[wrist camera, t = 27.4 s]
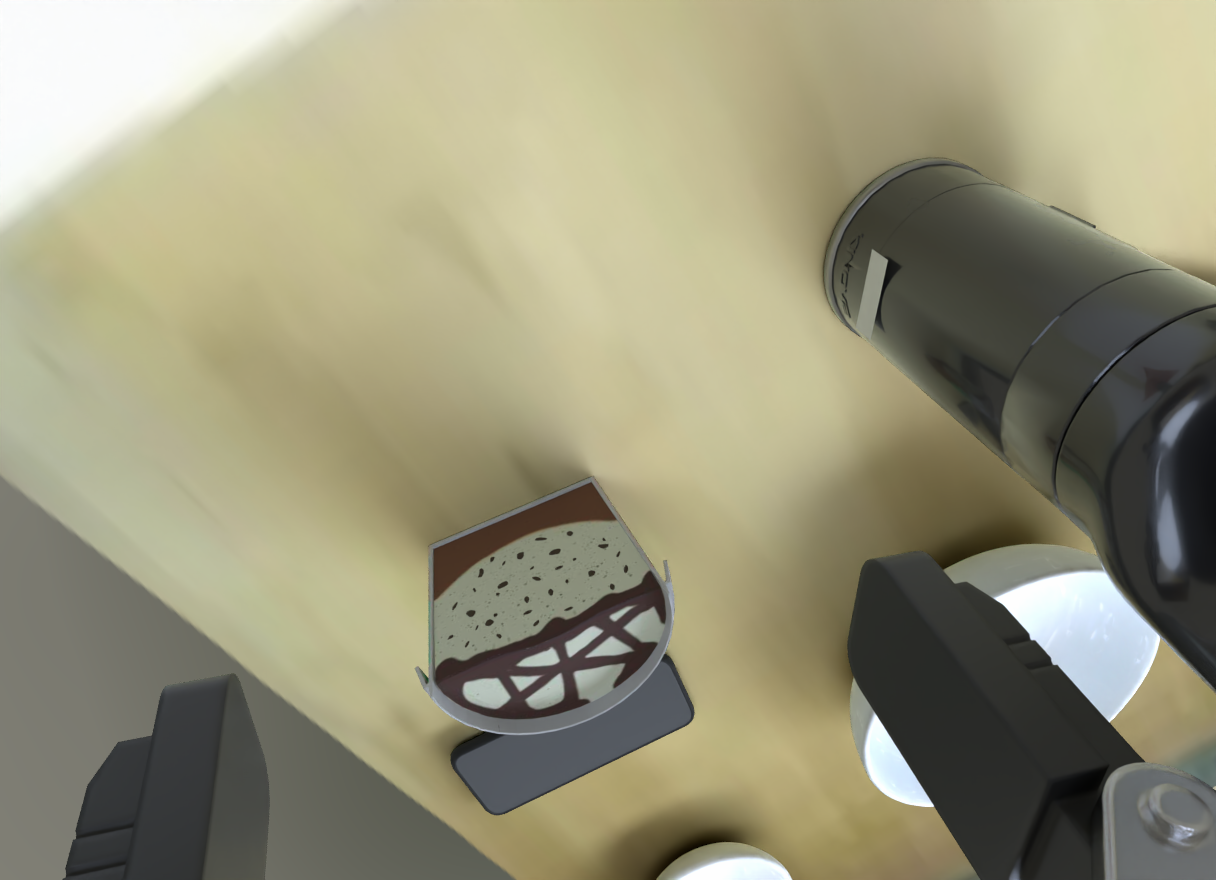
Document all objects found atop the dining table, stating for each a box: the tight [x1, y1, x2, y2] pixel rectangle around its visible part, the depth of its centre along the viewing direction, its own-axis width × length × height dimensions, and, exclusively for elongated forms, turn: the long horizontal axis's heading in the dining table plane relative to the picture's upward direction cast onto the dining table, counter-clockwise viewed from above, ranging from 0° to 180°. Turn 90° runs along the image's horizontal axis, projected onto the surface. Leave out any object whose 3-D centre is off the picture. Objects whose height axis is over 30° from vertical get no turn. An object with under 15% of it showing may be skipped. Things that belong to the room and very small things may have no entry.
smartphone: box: [450, 654, 694, 815], centre depth 57 cm, size 7×1×15 cm
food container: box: [415, 476, 675, 735], centre depth 45 cm, size 12×6×10 cm, turn 108°
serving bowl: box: [850, 544, 1160, 807], centre depth 60 cm, size 21×21×7 cm
